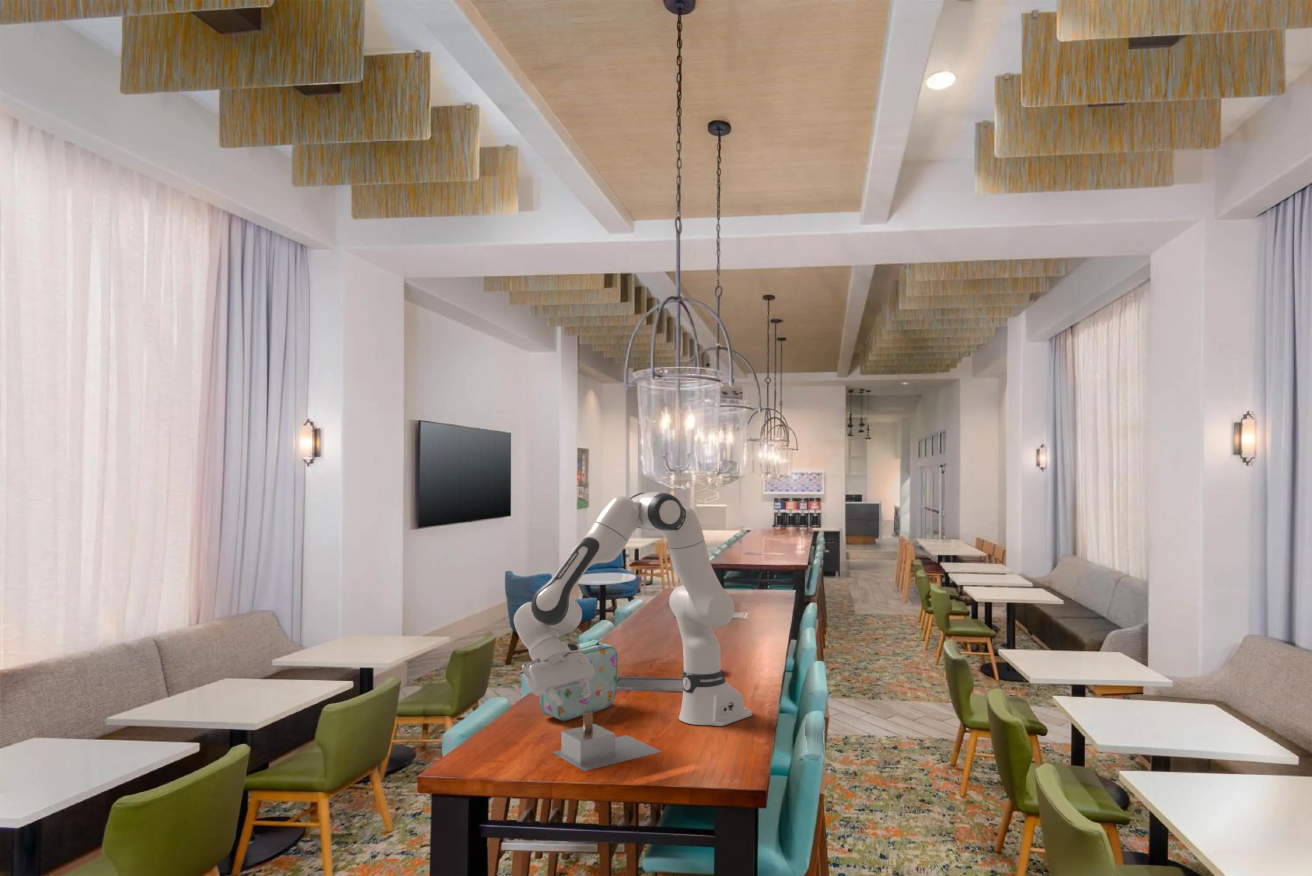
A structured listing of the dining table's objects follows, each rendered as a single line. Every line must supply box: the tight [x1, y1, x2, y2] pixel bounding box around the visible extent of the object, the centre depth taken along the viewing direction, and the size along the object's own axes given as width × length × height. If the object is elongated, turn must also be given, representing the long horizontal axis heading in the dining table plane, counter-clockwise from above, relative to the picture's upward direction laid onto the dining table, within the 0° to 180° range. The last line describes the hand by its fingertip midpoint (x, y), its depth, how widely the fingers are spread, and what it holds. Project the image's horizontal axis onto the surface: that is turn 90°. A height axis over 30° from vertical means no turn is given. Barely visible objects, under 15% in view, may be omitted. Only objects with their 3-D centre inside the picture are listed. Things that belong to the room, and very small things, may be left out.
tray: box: [551, 734, 663, 772], centre depth 207 cm, size 23×17×4 cm
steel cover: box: [560, 711, 616, 766], centre depth 204 cm, size 10×10×11 cm
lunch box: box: [539, 639, 618, 721], centre depth 248 cm, size 27×10×21 cm, turn 141°
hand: (575, 700), depth 208 cm, fingers open, 8 cm apart
